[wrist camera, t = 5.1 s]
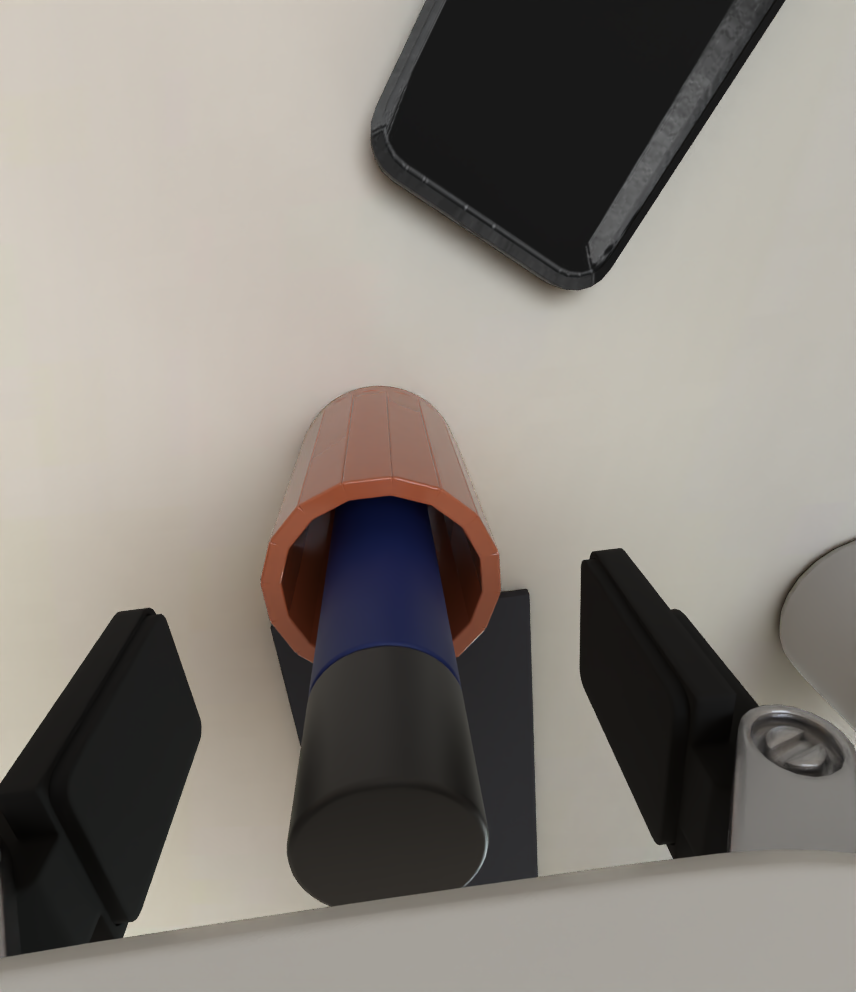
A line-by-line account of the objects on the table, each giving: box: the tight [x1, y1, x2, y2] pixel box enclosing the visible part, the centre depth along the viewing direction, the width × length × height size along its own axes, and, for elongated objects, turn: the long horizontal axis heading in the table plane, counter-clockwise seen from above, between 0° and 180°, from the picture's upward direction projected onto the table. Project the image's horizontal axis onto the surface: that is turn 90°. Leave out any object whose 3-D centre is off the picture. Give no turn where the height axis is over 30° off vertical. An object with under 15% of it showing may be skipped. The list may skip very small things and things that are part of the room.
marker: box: [287, 496, 489, 907], centre depth 14 cm, size 3×3×14 cm
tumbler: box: [260, 386, 501, 663], centre depth 17 cm, size 5×5×8 cm
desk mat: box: [271, 589, 538, 887], centre depth 27 cm, size 10×22×1 cm, turn 6°
